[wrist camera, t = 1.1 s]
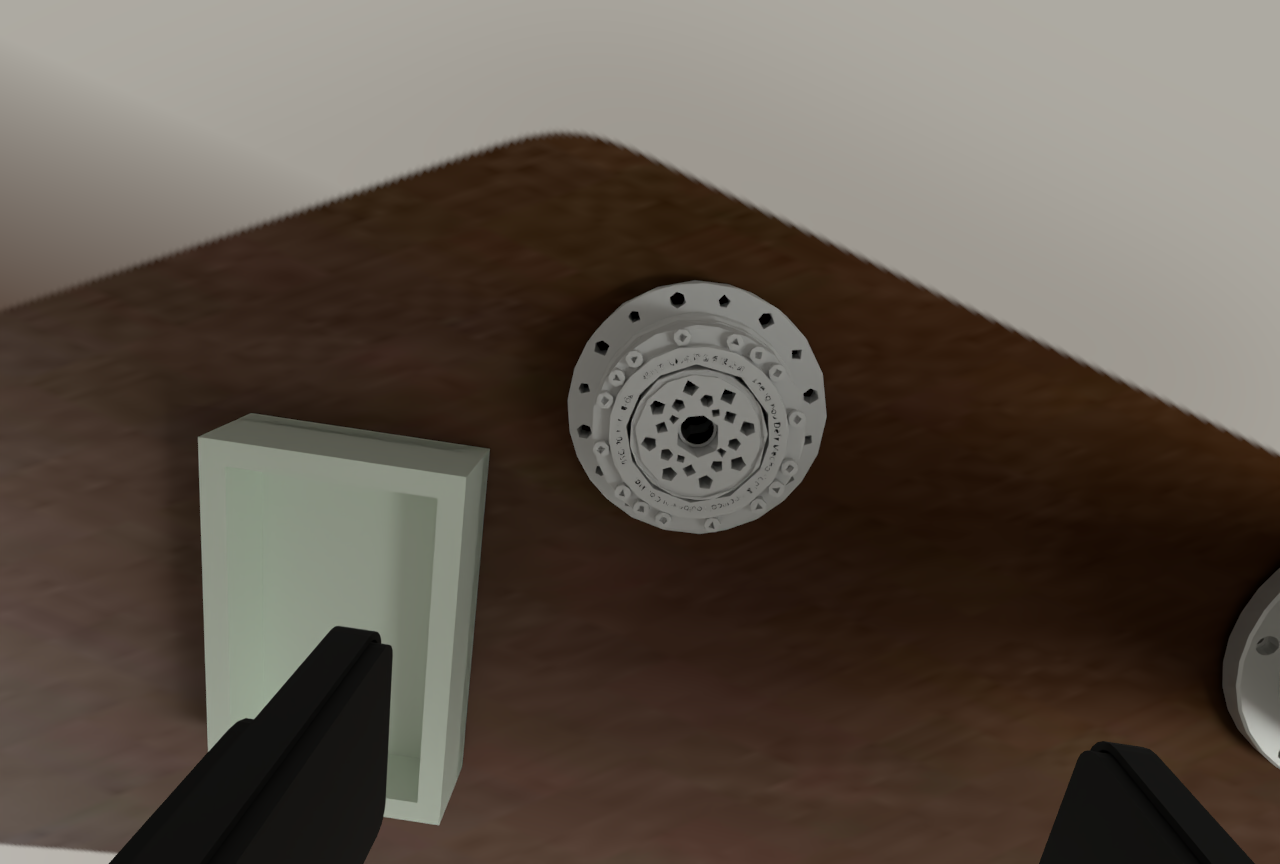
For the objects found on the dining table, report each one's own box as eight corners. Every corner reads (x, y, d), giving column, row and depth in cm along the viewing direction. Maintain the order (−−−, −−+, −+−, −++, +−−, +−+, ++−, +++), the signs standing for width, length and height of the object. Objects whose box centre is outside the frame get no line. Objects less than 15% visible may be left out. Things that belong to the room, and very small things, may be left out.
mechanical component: (871, 377, 29) (666, 226, 27) (905, 404, 24) (665, 226, 23) (720, 562, 31) (526, 432, 30) (726, 615, 27) (501, 466, 26)
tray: (489, 448, 30) (466, 476, 27) (462, 766, 34) (439, 825, 31) (251, 413, 30) (197, 436, 27) (254, 734, 34) (209, 789, 31)
